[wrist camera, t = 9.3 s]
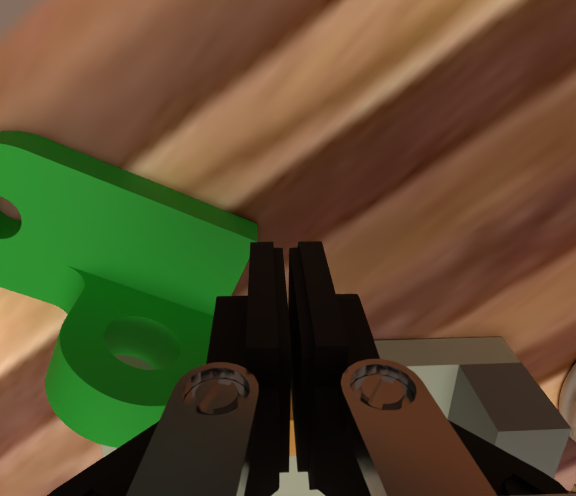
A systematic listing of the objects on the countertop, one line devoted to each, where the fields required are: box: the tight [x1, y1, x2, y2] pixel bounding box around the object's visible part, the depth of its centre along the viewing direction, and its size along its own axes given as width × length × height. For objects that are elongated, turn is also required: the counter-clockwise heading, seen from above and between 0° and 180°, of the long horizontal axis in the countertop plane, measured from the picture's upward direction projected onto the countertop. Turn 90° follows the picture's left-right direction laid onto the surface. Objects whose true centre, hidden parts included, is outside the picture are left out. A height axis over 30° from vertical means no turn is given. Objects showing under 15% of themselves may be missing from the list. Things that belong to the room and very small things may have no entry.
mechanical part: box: [0, 131, 257, 448], centre depth 17 cm, size 12×6×8 cm, turn 65°
